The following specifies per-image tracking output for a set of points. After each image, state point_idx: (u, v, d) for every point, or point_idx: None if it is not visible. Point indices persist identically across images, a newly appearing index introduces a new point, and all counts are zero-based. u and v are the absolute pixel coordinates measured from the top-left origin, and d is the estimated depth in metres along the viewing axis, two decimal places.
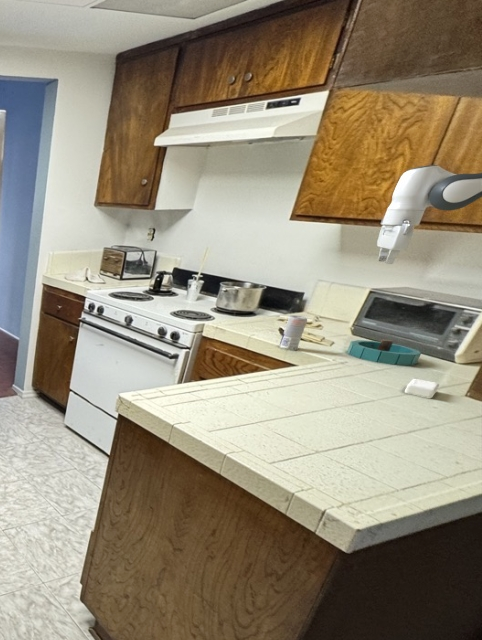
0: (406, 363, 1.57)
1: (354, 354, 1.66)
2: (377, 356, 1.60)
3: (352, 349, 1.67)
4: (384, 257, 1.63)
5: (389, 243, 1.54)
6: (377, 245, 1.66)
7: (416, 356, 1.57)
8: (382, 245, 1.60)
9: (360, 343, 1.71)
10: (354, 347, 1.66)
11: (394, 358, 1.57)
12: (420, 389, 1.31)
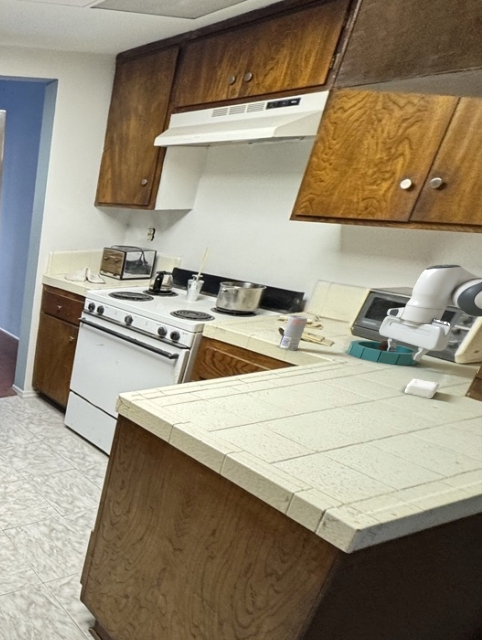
0: (406, 363, 1.57)
1: (354, 354, 1.66)
2: (377, 356, 1.60)
3: (352, 349, 1.67)
4: (395, 348, 1.60)
5: (420, 341, 1.50)
6: (381, 334, 1.64)
7: None
8: (398, 338, 1.57)
9: (360, 343, 1.71)
10: (354, 347, 1.66)
11: (394, 358, 1.57)
12: (420, 389, 1.31)
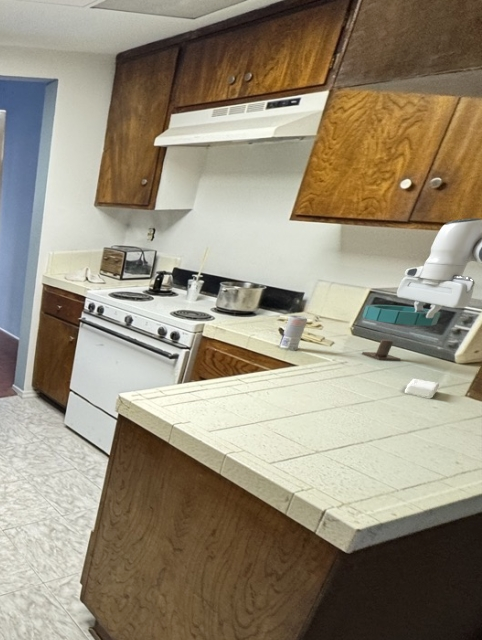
0: (426, 322, 1.52)
1: (370, 317, 1.61)
2: (395, 316, 1.55)
3: (368, 312, 1.62)
4: (423, 311, 1.52)
5: (441, 299, 1.45)
6: (399, 296, 1.58)
7: (436, 315, 1.52)
8: (418, 298, 1.52)
9: (376, 307, 1.65)
10: (370, 310, 1.61)
11: (413, 317, 1.52)
12: (420, 389, 1.31)
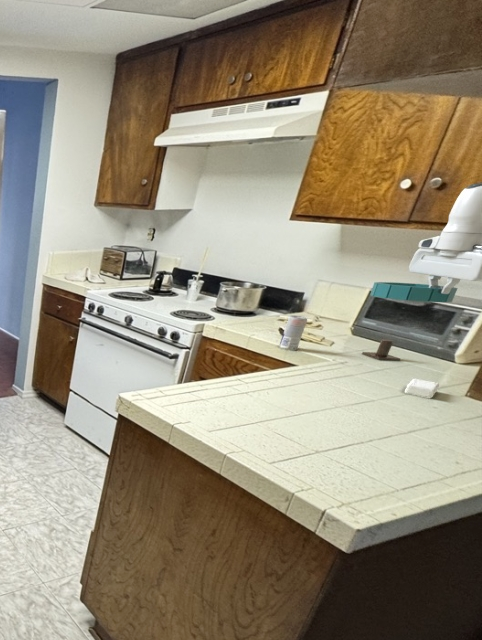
0: (441, 299, 1.37)
1: (379, 294, 1.47)
2: (407, 293, 1.40)
3: (377, 289, 1.48)
4: (437, 287, 1.38)
5: (459, 272, 1.31)
6: (411, 271, 1.44)
7: (452, 291, 1.37)
8: (432, 272, 1.38)
9: None
10: (379, 286, 1.47)
11: (427, 293, 1.38)
12: (420, 389, 1.31)
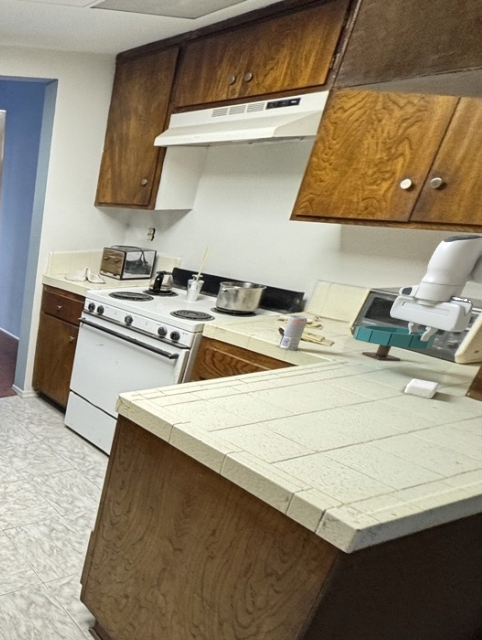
0: (420, 345, 1.41)
1: (361, 338, 1.51)
2: (388, 338, 1.44)
3: (359, 333, 1.52)
4: (417, 333, 1.42)
5: (437, 322, 1.35)
6: (392, 316, 1.48)
7: (431, 338, 1.41)
8: (412, 319, 1.42)
9: (367, 327, 1.55)
10: (361, 330, 1.51)
11: (407, 340, 1.42)
12: (420, 389, 1.31)
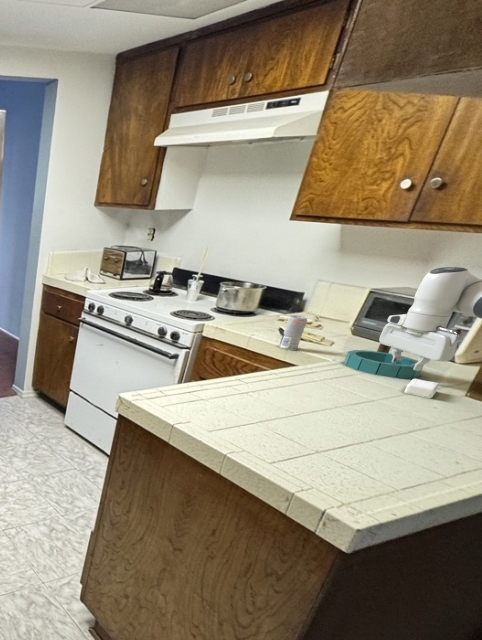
0: (407, 376, 1.45)
1: (351, 365, 1.54)
2: (376, 368, 1.48)
3: (349, 360, 1.55)
4: (400, 359, 1.47)
5: (424, 351, 1.38)
6: (381, 343, 1.51)
7: None
8: (400, 347, 1.45)
9: (358, 353, 1.58)
10: (351, 358, 1.54)
11: (394, 370, 1.45)
12: (420, 389, 1.31)
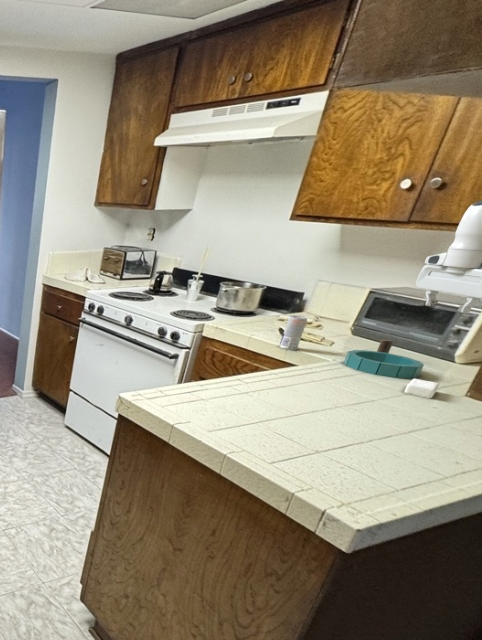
0: (407, 376, 1.45)
1: (351, 365, 1.54)
2: (376, 368, 1.48)
3: (349, 360, 1.55)
4: (435, 301, 1.40)
5: (468, 289, 1.29)
6: (419, 287, 1.43)
7: (418, 368, 1.45)
8: (440, 289, 1.36)
9: (358, 353, 1.58)
10: (351, 358, 1.54)
11: (394, 370, 1.45)
12: (420, 389, 1.31)
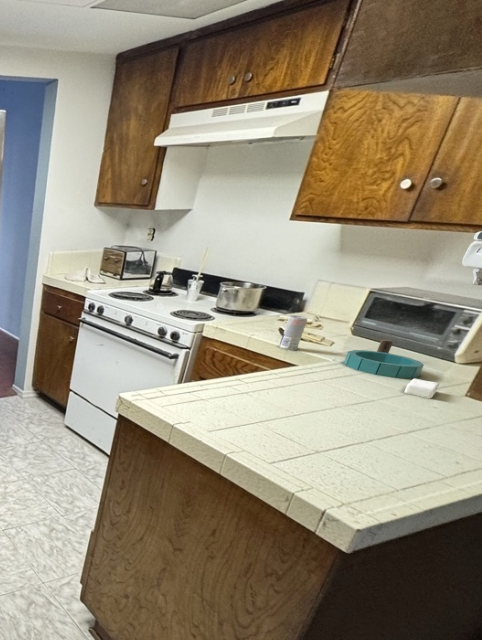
0: (407, 376, 1.45)
1: (351, 365, 1.54)
2: (376, 368, 1.48)
3: (349, 360, 1.55)
4: None
5: None
6: (465, 265, 1.35)
7: (418, 368, 1.45)
8: None
9: (358, 353, 1.58)
10: (351, 358, 1.54)
11: (394, 370, 1.45)
12: (420, 389, 1.31)
